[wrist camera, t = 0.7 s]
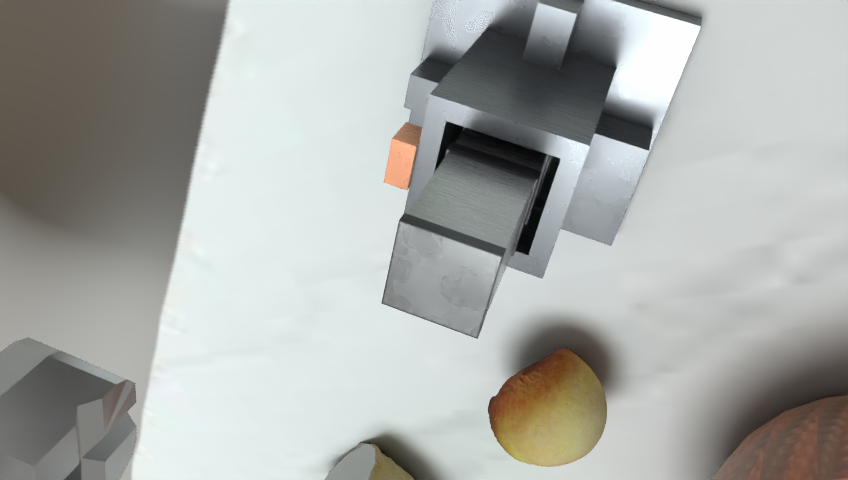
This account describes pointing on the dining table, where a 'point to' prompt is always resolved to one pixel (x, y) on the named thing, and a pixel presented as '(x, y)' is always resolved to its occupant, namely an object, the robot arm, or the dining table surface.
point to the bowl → (795, 445)
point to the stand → (547, 102)
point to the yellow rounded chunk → (367, 466)
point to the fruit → (550, 411)
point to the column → (464, 231)
